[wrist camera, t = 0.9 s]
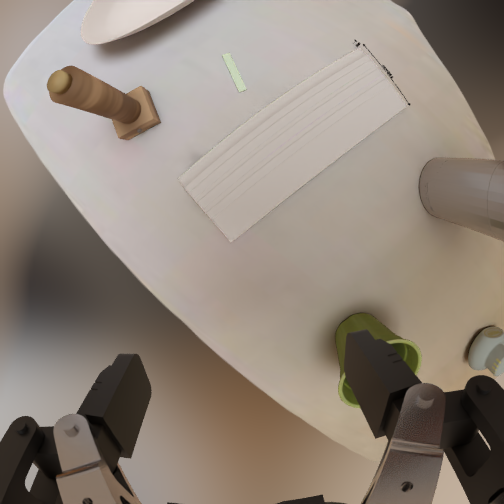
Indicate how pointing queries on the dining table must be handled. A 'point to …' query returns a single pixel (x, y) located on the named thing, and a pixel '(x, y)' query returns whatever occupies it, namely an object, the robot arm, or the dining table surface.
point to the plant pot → (378, 331)
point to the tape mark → (234, 72)
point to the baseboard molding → (291, 142)
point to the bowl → (124, 17)
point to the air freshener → (488, 351)
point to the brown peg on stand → (104, 101)
